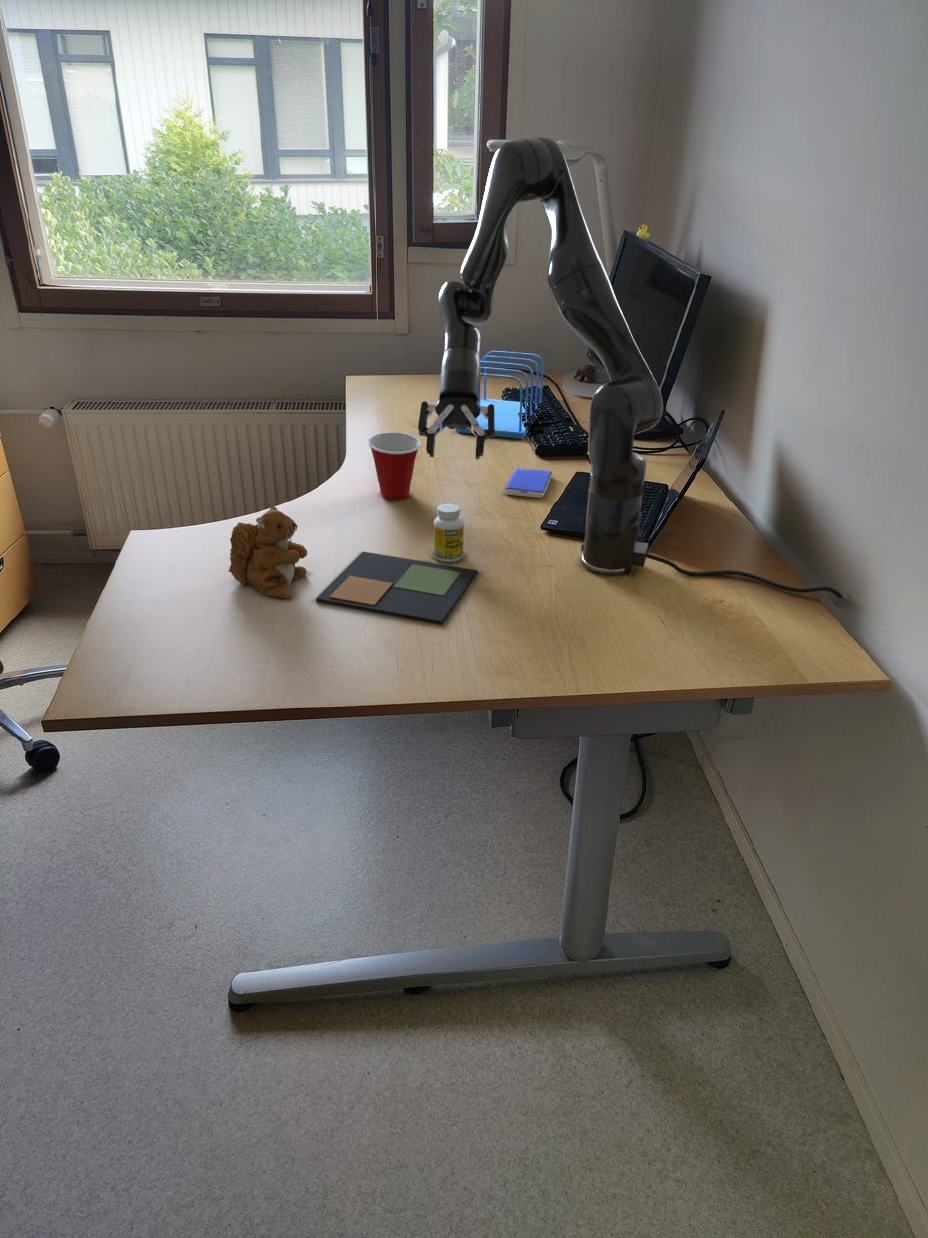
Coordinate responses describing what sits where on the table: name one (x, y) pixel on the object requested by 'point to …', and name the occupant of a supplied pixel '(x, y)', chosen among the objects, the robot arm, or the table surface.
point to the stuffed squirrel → (267, 554)
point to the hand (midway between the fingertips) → (454, 456)
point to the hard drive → (528, 482)
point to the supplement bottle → (448, 533)
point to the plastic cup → (394, 462)
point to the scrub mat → (399, 587)
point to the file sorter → (507, 411)
